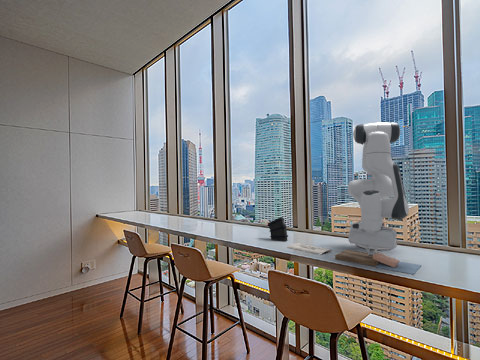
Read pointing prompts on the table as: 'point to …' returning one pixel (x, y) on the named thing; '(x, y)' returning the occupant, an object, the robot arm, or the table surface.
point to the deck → (357, 257)
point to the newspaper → (308, 248)
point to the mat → (401, 267)
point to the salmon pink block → (386, 259)
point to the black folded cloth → (278, 229)
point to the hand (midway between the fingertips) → (371, 255)
